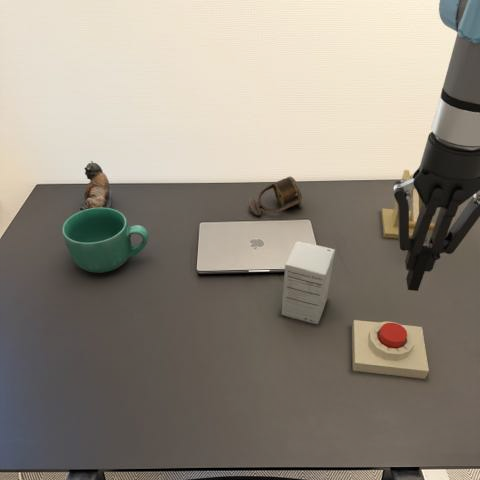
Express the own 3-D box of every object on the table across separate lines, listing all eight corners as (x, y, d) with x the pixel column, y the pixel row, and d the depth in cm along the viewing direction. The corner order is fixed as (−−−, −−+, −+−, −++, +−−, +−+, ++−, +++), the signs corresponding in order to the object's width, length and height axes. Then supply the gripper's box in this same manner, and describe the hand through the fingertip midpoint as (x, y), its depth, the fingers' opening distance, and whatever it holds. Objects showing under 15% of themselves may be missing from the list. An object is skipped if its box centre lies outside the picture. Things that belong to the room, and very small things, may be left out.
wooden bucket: (307, 200, 106) (305, 169, 111) (251, 196, 105) (251, 165, 110) (301, 222, 112) (299, 192, 117) (248, 218, 111) (248, 188, 117)
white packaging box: (291, 290, 93) (296, 239, 84) (327, 300, 92) (337, 248, 82) (279, 315, 89) (283, 264, 80) (317, 326, 87) (326, 274, 78)
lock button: (403, 330, 81) (406, 323, 80) (405, 350, 78) (408, 343, 77) (377, 328, 82) (379, 321, 80) (378, 347, 79) (381, 340, 77)
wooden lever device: (425, 241, 104) (442, 189, 95) (383, 237, 105) (397, 186, 96) (419, 215, 111) (436, 165, 102) (381, 212, 112) (393, 162, 103)
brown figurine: (110, 224, 109) (101, 186, 102) (79, 226, 109) (68, 187, 102) (115, 197, 118) (107, 159, 110) (87, 198, 117) (76, 160, 110)
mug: (65, 278, 96) (51, 241, 89) (85, 241, 105) (74, 205, 98) (144, 284, 95) (136, 247, 88) (158, 246, 104) (152, 209, 97)
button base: (418, 334, 85) (424, 319, 82) (425, 379, 78) (432, 364, 75) (351, 327, 86) (355, 312, 84) (352, 370, 80) (356, 355, 77)
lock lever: (431, 233, 96) (435, 226, 94) (396, 230, 97) (399, 223, 95) (429, 183, 102) (433, 175, 99) (396, 181, 102) (399, 173, 100)
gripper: (512, 125, 57) (451, 272, 74) (403, 119, 58) (368, 265, 76) (529, 154, 52) (460, 305, 69) (409, 148, 53) (370, 297, 71)
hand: (412, 284), depth 72 cm, fingers closed
